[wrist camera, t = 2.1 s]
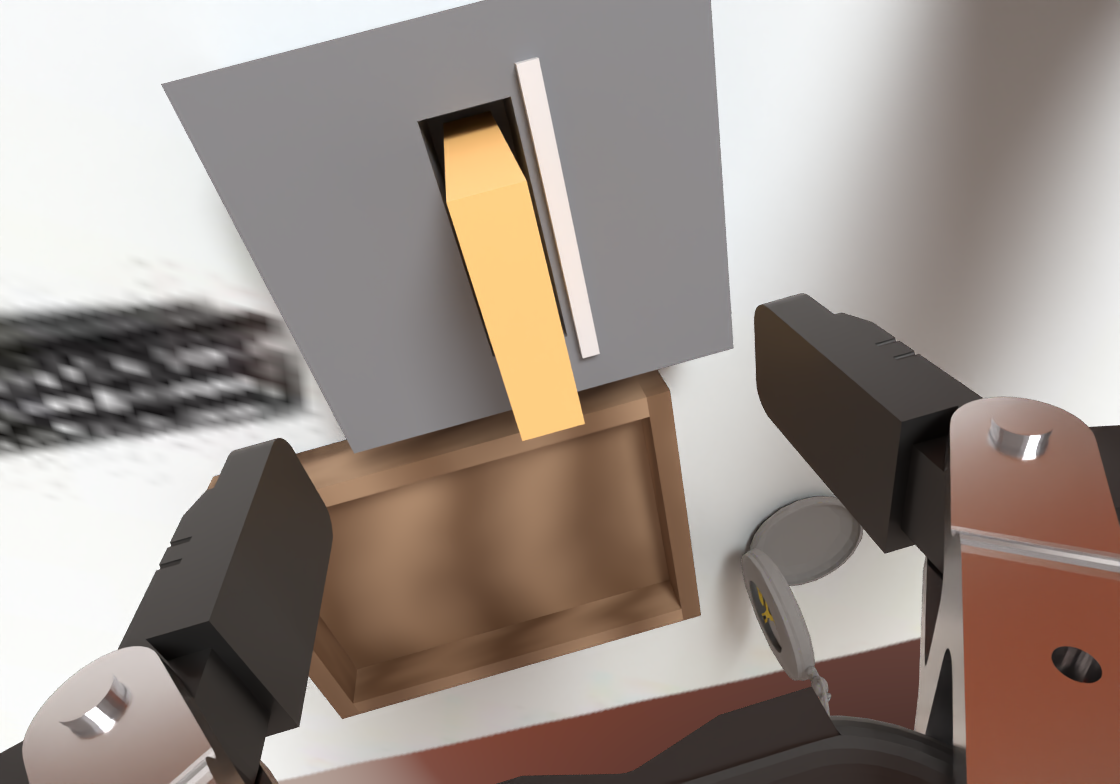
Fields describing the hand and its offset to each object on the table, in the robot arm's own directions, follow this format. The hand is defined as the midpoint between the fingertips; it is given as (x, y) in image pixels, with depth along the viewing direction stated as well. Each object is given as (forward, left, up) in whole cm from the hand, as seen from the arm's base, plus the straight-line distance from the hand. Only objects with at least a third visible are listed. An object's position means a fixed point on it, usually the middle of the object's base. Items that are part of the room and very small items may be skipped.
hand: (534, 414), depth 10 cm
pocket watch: (-11, +23, -15) cm, 30 cm away
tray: (+5, +16, -15) cm, 22 cm away
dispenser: (0, 0, -15) cm, 15 cm away
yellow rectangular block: (0, 0, -14) cm, 14 cm away
